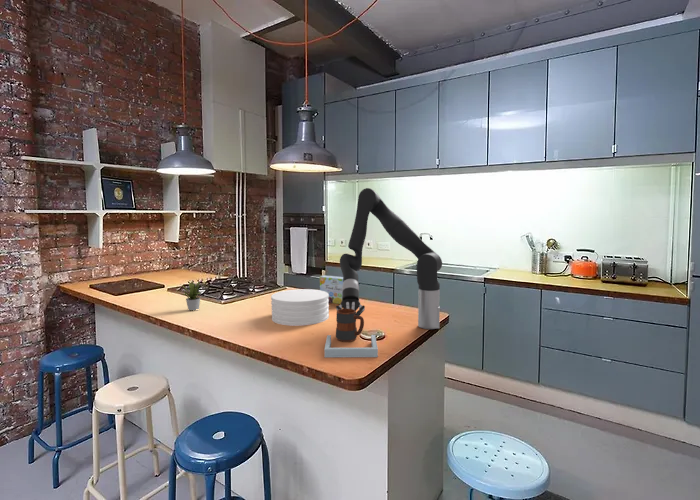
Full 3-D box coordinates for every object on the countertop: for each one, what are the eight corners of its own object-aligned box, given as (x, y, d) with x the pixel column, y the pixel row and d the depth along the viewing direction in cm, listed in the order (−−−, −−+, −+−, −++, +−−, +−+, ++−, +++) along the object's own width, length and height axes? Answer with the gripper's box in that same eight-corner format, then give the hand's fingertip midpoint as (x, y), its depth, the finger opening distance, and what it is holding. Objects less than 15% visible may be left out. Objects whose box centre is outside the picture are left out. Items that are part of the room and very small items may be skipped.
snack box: (319, 302, 218) (319, 276, 217) (324, 300, 223) (324, 275, 222) (351, 306, 208) (351, 279, 207) (356, 303, 213) (356, 277, 212)
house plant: (215, 308, 205) (214, 278, 203) (194, 314, 192) (193, 283, 191) (197, 305, 211) (196, 277, 210) (176, 311, 199) (174, 281, 197)
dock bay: (375, 342, 149) (375, 334, 149) (377, 357, 134) (377, 348, 134) (327, 342, 149) (327, 335, 149) (324, 357, 134) (324, 349, 134)
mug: (359, 344, 147) (359, 315, 146) (332, 340, 152) (332, 312, 151) (367, 337, 155) (367, 310, 154) (341, 334, 160) (341, 307, 158)
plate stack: (338, 320, 181) (338, 296, 180) (283, 329, 167) (282, 304, 166) (314, 307, 205) (314, 287, 204) (264, 315, 192) (263, 292, 190)
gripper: (335, 286, 166) (334, 322, 155) (365, 286, 166) (366, 322, 155) (336, 295, 172) (335, 330, 161) (365, 295, 172) (365, 330, 161)
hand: (350, 326), depth 158 cm, fingers closed
